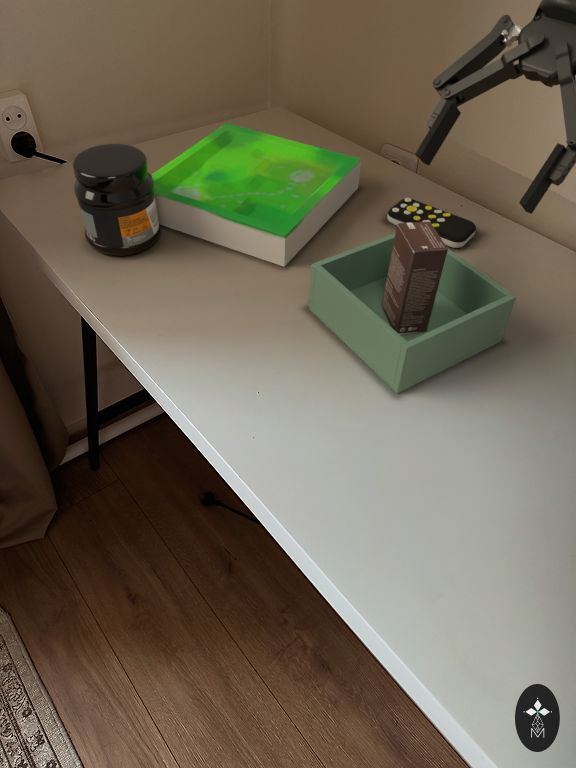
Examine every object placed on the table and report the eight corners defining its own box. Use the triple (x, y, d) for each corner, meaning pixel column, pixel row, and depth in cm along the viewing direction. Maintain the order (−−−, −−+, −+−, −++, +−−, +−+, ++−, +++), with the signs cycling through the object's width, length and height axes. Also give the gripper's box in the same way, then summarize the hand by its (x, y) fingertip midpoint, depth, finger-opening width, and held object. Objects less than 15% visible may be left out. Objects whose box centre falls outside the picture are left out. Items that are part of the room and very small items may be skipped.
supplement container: (175, 241, 92) (165, 163, 83) (109, 268, 87) (92, 188, 78) (137, 210, 97) (124, 134, 88) (73, 234, 92) (53, 155, 84)
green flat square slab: (227, 151, 111) (226, 122, 108) (358, 188, 103) (361, 159, 100) (138, 217, 96) (133, 186, 92) (284, 266, 88) (285, 235, 84)
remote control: (459, 252, 91) (462, 240, 90) (383, 221, 97) (384, 210, 95) (477, 233, 95) (480, 222, 93) (403, 205, 100) (405, 193, 99)
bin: (500, 341, 78) (516, 296, 73) (397, 394, 72) (406, 348, 67) (407, 269, 88) (415, 225, 83) (308, 308, 82) (311, 263, 77)
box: (429, 332, 78) (450, 249, 69) (394, 336, 77) (410, 252, 68) (413, 301, 82) (431, 219, 73) (379, 305, 81) (393, 222, 72)
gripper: (717, 45, 60) (581, 242, 65) (497, -14, 73) (397, 155, 78) (718, -3, 54) (568, 219, 59) (478, -59, 67) (370, 128, 72)
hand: (470, 183), depth 68 cm, fingers open, 13 cm apart
